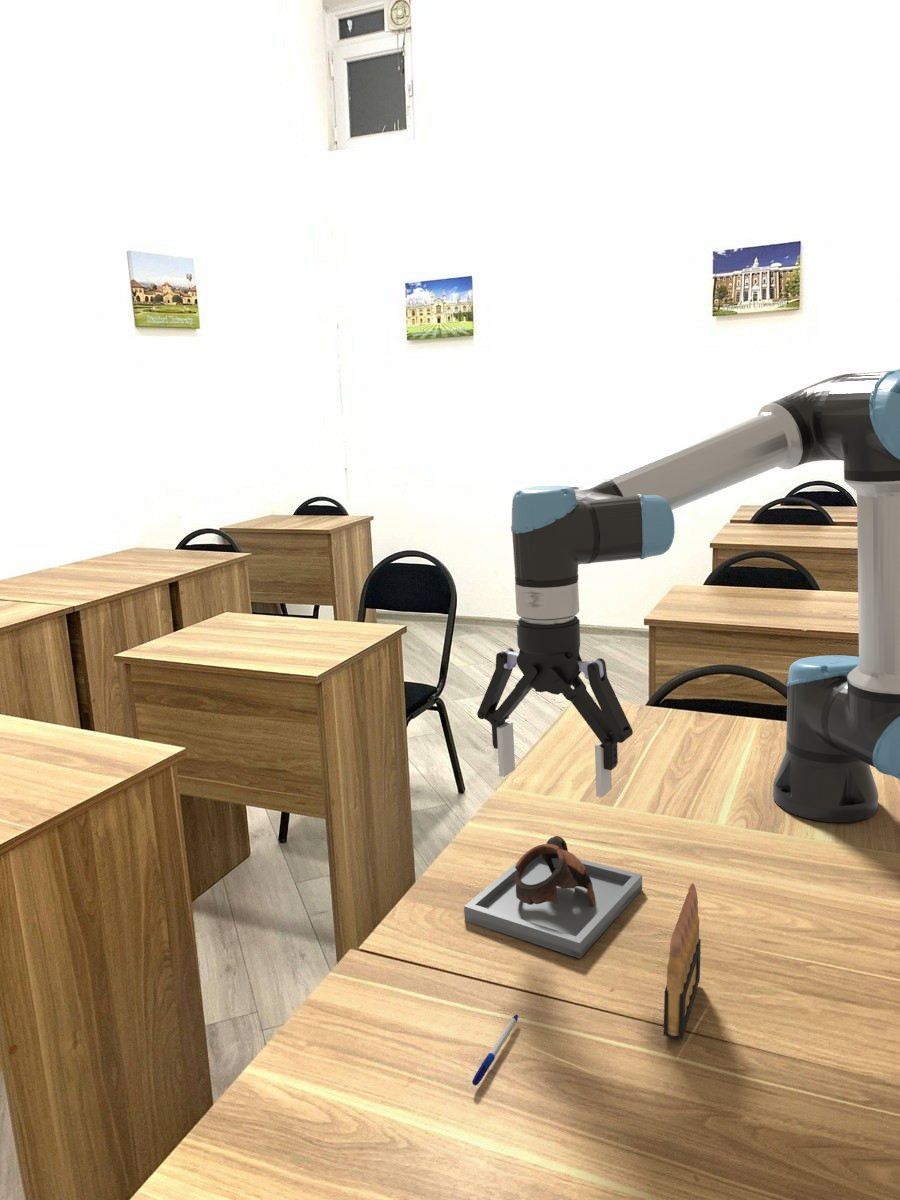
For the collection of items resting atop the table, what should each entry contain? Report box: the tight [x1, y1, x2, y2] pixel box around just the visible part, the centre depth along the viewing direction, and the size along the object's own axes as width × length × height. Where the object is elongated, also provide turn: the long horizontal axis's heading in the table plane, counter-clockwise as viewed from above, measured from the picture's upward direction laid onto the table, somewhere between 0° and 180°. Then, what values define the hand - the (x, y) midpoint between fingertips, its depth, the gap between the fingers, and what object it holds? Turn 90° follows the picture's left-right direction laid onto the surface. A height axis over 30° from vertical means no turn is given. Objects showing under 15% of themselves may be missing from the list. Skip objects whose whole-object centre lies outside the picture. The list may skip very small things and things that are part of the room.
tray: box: [463, 855, 643, 959], centre depth 118 cm, size 16×18×2 cm
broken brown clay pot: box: [513, 835, 595, 907], centre depth 118 cm, size 12×10×8 cm
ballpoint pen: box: [471, 1014, 519, 1086], centre depth 92 cm, size 10×1×1 cm, turn 155°
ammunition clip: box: [663, 883, 702, 1041], centre depth 96 cm, size 11×2×12 cm, turn 156°
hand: (554, 782), depth 115 cm, fingers open, 13 cm apart
